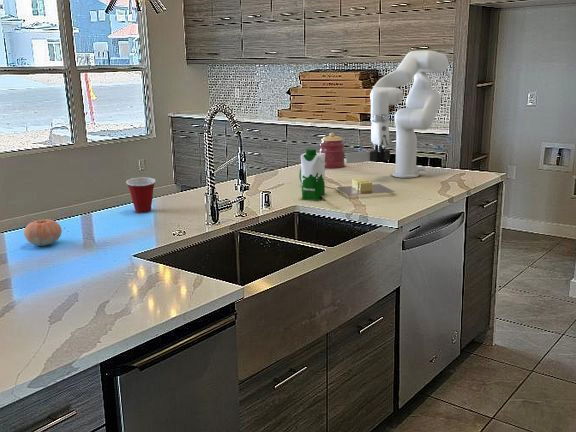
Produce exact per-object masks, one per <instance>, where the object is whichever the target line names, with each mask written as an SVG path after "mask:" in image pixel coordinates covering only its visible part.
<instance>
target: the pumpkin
mask: <svg viewBox="0 0 576 432" xmlns="http://www.w3.org/2000/svg"><path fill="white" fill-rule="evenodd" d="M62 229H63V228H62V226H61V225H60V223H58V222H57V221H55V220H53V219H49V218H47V219H46V218H43V219H42V218H41V219H36V220H33V221H31V222H29V223H28V224H27V225H26V226H25V228H24V231H23V236H24V238H25V240H26V241H27V242H28V243H29V244H31V245H34V246H39V247H44V246H49V245H52V244H55V243H56V242H57V241H58V240H59V239H60V238H61V237H62V231H63V230H62Z"/></svg>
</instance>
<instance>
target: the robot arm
mask: <svg viewBox="0 0 576 432" xmlns="http://www.w3.org/2000/svg"><path fill="white" fill-rule="evenodd" d="M448 66H449V59H448V57H447V55H446V54H444V53H441V52H438V51H434V50H429V49H428V50H427V49H424V50H410V51H409V52H408V53H406V55H405V56H404V57H403V59H402V60H401V62H400V63H399V65H398V66H397V68H396V69H395V70H393V71H391V72H389V73H387V74H386V75H384V76H382V77H381V78H379V79H378V80H377V82H376V83H375V84H374V85H373V87H372V89H371V91H370V95H369V99H370V123H371V127H370V142H371V143H372V145H373V150H378V152H377V161H376V162H385V161H384V157H385V149H388V148H387V146H389V145H390V126H389V106H396V105H399V104H400V103H401V102H402V101H403V98H404V93H403V91H402V90H401V89H400V88H399V87H402V86H405V85H408V84H410V83H411V82H412V81H413V83H412V85H411V88H410V90H409V92H408V95H407V97H406V99H405V106H406V107H403V108H399V109H398V110H397V111H395V114H394V124H395V125H394V126H395V133H396V135H395V137H396V138H395V169H394V170H395V171H393V172H392V173H391V176H392V177H394V178H399V179H400V178H401V179H413V178H419V176H420V173H419V172H425V171H426V169H427V168H426V166H418V165H417V151H418V150H417V148H418V136H417V135H416V132H415V131H416V130H417V131H427V130H428V129H430V128H431V126H432V125H433V123H434V121H435V118H436V116H437V114H438V111H439V110H440V106H441V102H442V101H441V100H442V98H441V94H440V93H439V92H438V91H437V90H434V89H432V82H431V79H430V78H429V76H428V74H440V73H444V72H446V70H447V69H448ZM414 130H415V131H414Z"/></svg>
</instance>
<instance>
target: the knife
mask: <svg viewBox="0 0 576 432" xmlns="http://www.w3.org/2000/svg"><path fill="white" fill-rule="evenodd" d="M377 152H378V150H374V149H373V150H367V151H353V152H345V164H356V163H357V164H359V163H369V162H370V163H372V162H373V163H374V162H378V161H377ZM385 161H391V149H388V148H385V157H384V161H383V162H385Z"/></svg>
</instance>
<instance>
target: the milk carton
mask: <svg viewBox="0 0 576 432" xmlns="http://www.w3.org/2000/svg"><path fill="white" fill-rule="evenodd" d="M300 168H301V174H302V183H301V200H307V201H308V200H309V201H320V200H321V199H323V198H324V197H323V196H324V195H325V194H326V193H325V191H326V189H325V187H326V186H325V185H326V180H325V179H326V177H325V175H326V172H325V171H326V170H325V169H326V168H325V153H320V152H317V149H316V148H307V149H305V152H304V153H302V154H300Z"/></svg>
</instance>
